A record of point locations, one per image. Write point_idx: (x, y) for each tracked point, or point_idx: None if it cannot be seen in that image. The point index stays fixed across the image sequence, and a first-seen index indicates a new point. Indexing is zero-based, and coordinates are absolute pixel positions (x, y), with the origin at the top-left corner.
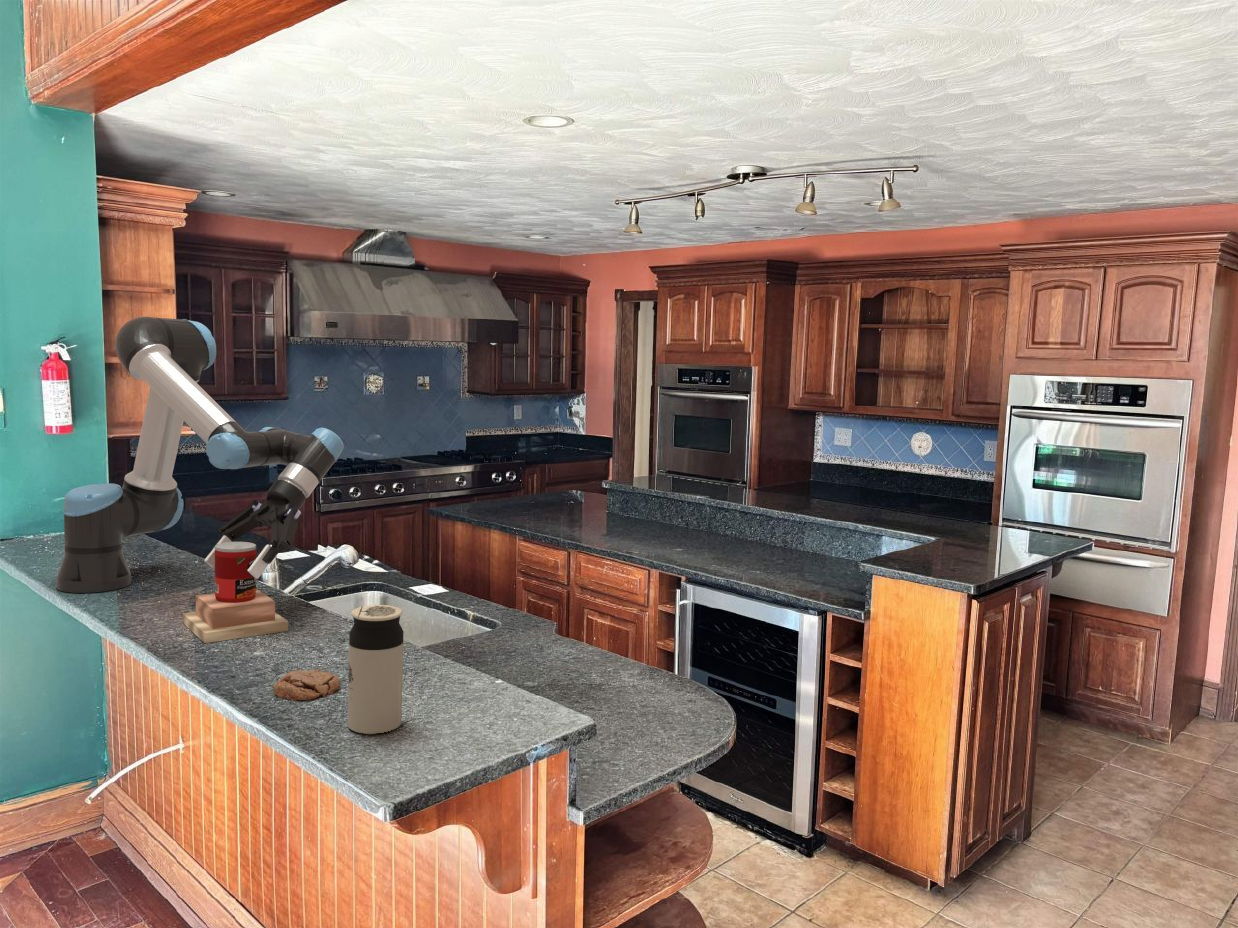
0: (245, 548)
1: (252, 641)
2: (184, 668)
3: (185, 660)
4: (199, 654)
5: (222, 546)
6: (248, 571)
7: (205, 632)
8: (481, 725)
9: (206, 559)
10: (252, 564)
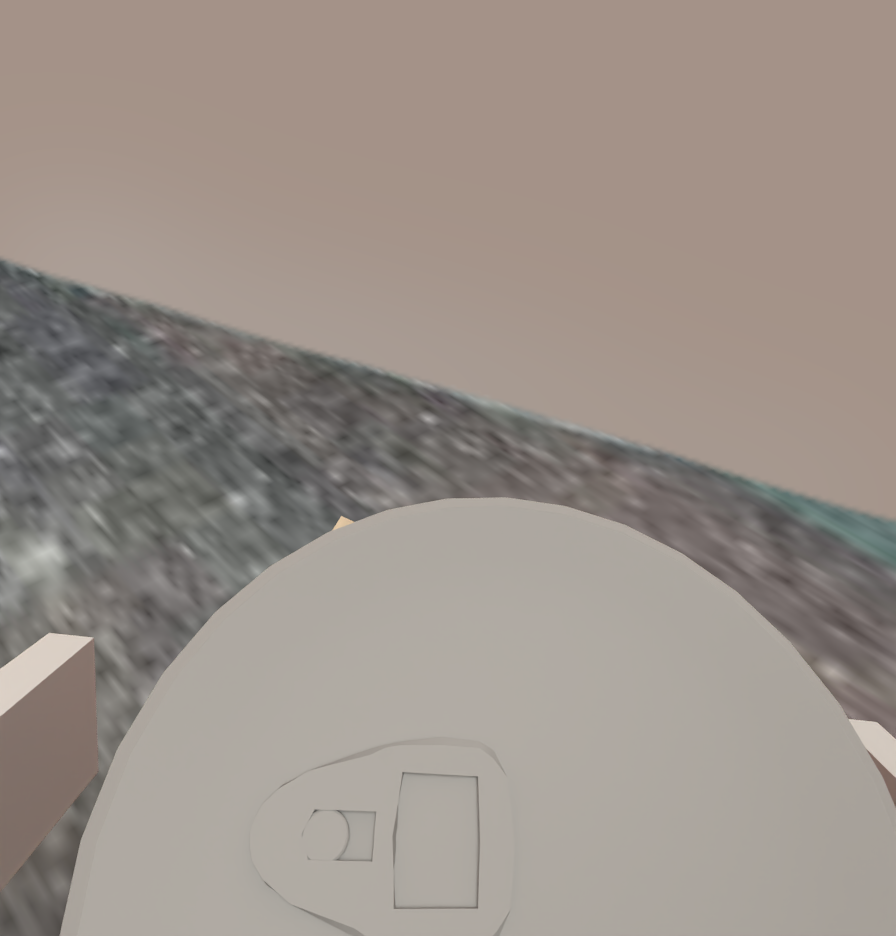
0: (126, 743)
1: (167, 666)
2: (205, 338)
3: (259, 383)
4: (261, 440)
5: (711, 717)
6: (88, 652)
7: (345, 523)
8: None
9: (865, 732)
10: (15, 694)
